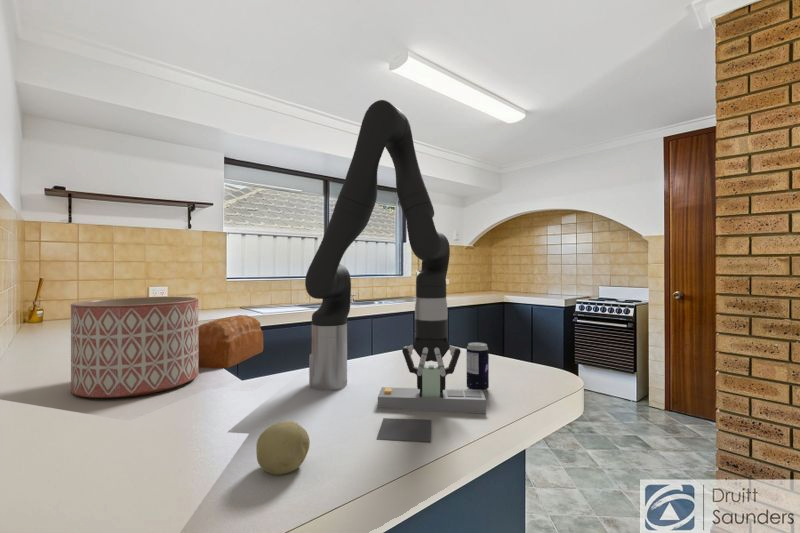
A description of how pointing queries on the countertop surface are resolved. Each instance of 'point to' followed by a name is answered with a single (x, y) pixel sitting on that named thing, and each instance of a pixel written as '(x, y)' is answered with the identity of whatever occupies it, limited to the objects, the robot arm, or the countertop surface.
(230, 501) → the countertop surface
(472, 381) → the beverage can
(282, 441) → the potato
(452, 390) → the strip
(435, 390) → the block
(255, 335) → the bread
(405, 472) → the countertop surface
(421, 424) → the mat
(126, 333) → the planter
